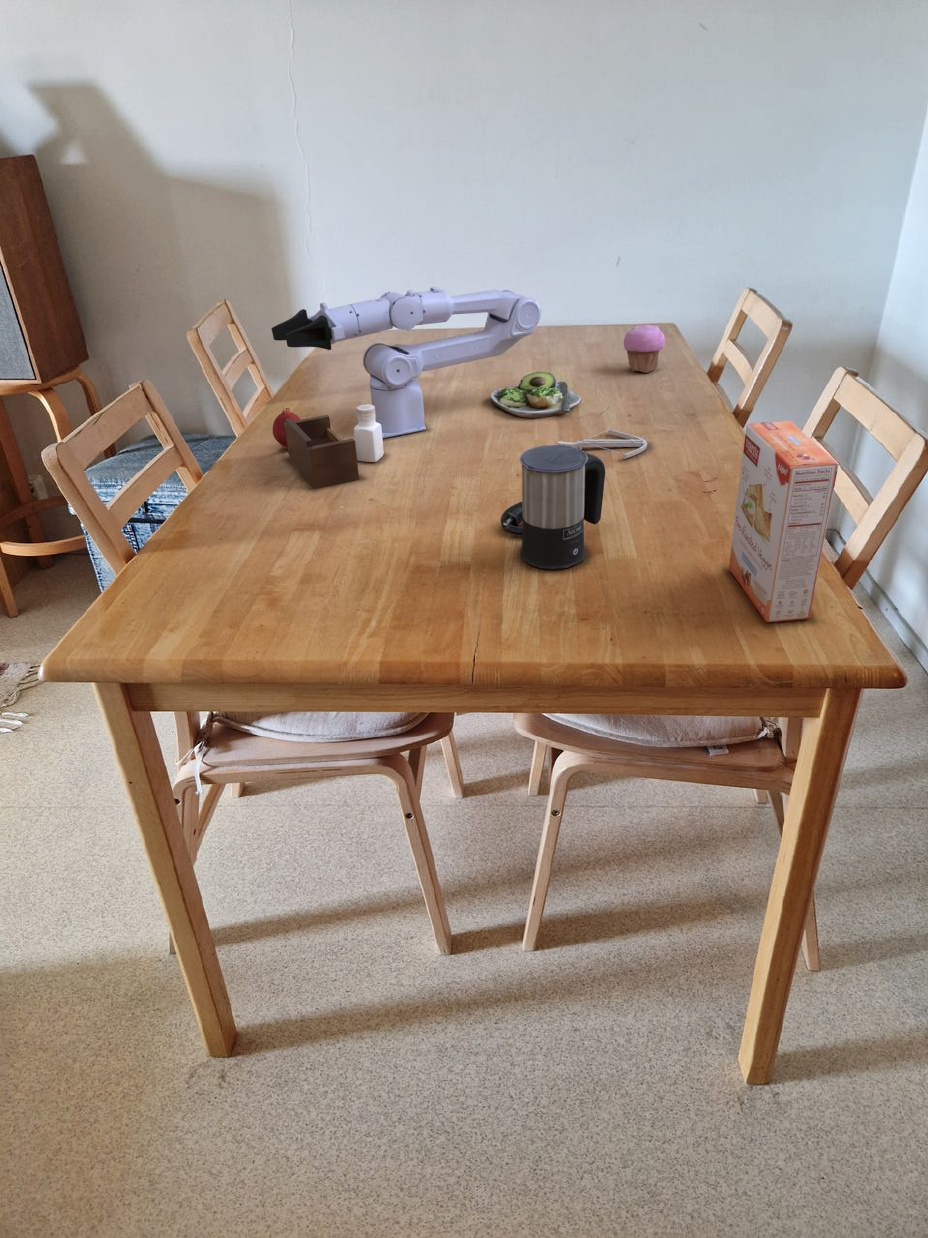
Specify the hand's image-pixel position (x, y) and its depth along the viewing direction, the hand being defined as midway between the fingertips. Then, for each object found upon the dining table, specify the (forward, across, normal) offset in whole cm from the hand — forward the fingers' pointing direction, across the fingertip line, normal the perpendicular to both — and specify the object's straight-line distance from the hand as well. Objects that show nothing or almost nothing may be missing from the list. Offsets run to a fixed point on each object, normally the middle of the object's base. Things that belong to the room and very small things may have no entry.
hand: (279, 337), depth 155 cm
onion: (+2, -2, +21) cm, 21 cm away
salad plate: (-49, +1, +24) cm, 55 cm away
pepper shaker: (-9, +10, +22) cm, 26 cm away
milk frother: (-16, +54, +25) cm, 62 cm away
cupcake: (-81, -4, +25) cm, 85 cm away
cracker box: (-33, +82, +28) cm, 93 cm away
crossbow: (-46, +29, +25) cm, 60 cm away
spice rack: (0, +10, +21) cm, 24 cm away
